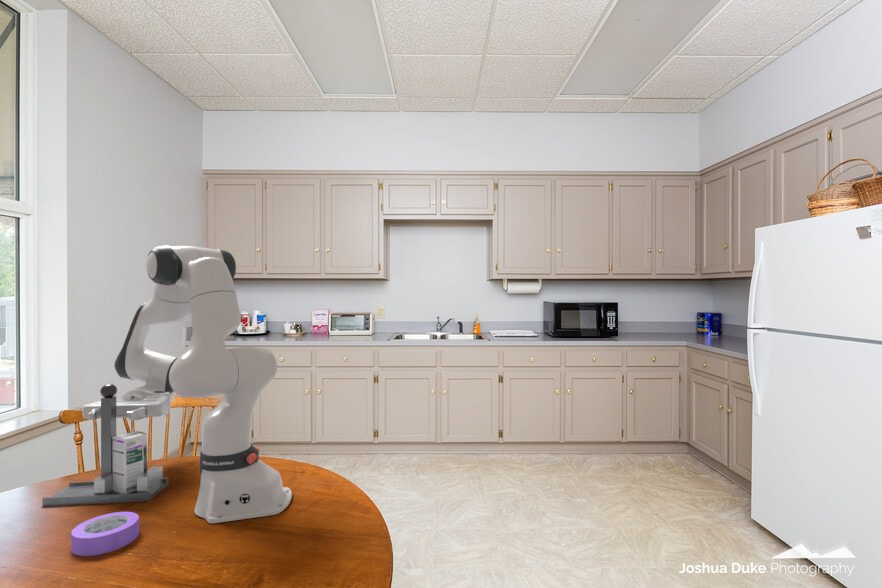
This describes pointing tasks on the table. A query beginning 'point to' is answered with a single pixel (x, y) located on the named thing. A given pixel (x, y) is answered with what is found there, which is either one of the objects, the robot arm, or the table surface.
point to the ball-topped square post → (106, 439)
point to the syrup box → (128, 460)
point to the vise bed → (84, 492)
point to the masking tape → (104, 533)
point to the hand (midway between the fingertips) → (110, 416)
